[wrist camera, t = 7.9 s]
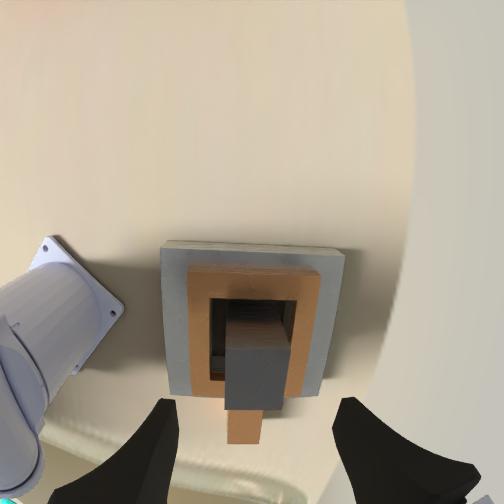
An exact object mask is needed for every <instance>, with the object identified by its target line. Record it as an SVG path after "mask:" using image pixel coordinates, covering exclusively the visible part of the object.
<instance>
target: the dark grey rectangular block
mask: <svg viewBox="0 0 504 504" xmlns="http://www.w3.org/2000/svg"><path fill="white" fill-rule="evenodd" d="M290 354H291V348H290V345H289V342H288V339H287V336H286V333H285V330H284V327H283V324H282V322H281V319H280V316H279V313H278V310H277V307H276V304H275V301H274V300H257V299H228V298H227V309H226V342H225V410H281V408H282V402H283V397H284V391H285V385H286V379H287V373H288V367H289V360H290Z"/></svg>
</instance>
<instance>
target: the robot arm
mask: <svg viewBox="0 0 504 504" xmlns="http://www.w3.org/2000/svg"><path fill="white" fill-rule="evenodd" d="M46 246H47V247H48V250H46ZM111 310H113V311H115V312H116V315H114V314H113V313H112V311H111ZM123 311H124V306H123V304H122V303H121V302H120V301H119V300H118V299H117V298H115V297H114V296H113V295H112V294H111V293H110V292H109V291H108V290H106V289H105V288H104V287H103V286H102V285H101V284H100V283H99V282H98V281H97V280H96V279H95V278H93V277H92V276H91V275H90V274H89V273H88V272H87V271H86V270H85V269H84V268H83V267H82V266H81V265H80V264H79V263H78V262H77V261H76V260H75V259H74V258H73V257H72V256H71V255H70V254H69V253H68V252H67V251H66V250H65V249H64V248H63V247H62V246H61V245H60V244H59V243H58V242H57V241H56V240H55V239H54V237H52V236H47V237H45V239H44V240H43V242H42V244H41V246H40V248H39V250H38V252H37V254H36V256H35V258H34V260H33V262H32V264H31V266H30V268H29V270H28V272H27V273H25V274H23V275H21V276H20V277H18V278H16V279H14V280H13V281H11V282H9V283H8V284H6V285H4V286H3V287H1V288H0V499H13V498H17V497H20V496H23V495H24V494H26V493H28V492H29V491H30V490H31V489H33V488H34V487H35V485H36V484H37V483H38V482H39V480H40V478H41V476H42V474H43V470H44V466H45V454H44V450H43V447H42V444H41V442H40V440H39V438H38V435H39V433H40V432H41V430H42V428H43V427H44V425H45V422H44V419H43V414H44V412H45V410H46V409H47V408H48V406H49V405H50V403H51V402H52V400H53V399H54V397H55V396H56V394H57V393H58V391H59V390H60V388H61V387H62V385H63V384H64V382H65V381H66V379H67V378H68V377H69V375H70V374H72V375H76V374H77V372H78V371H79V369H80V368H81V367H82V365H83V364H84V363H85V361H86V360H87V359H88V357H89V356H90V354H91V353H92V352H93V350H94V349H95V348H96V346H97V345H98V344H99V342H100V341H101V340H102V339H103V337H104V336H105V335H106V333H107V332H108V331H109V329H110V328H111V327H112V326H113V324H114V323H115V322H116V320H117V319H118V318H119V317H120V315H121V314H122V313H123ZM77 364H78V365H77ZM332 430H333V435H334V439H335V443H336V447H337V449H338V452H339V455H340V457H341V460H342V462H343V465H344V467H345V470H346V472H347V475H348V477H349V479H350V482H351V485H352V488H353V492H354V496H355V500H356V504H466V503H467V500H466V498H465V496H466V495H467V494H468V493H469V492H470V491H471V490H472V489H473V488H474V487H475V486H476V485H477V484H478V483H479V481H480V479H481V475H480V473H479V472H478V470H477V469H476V468H475V466H474V465H473V464H469V463H464V462H460V461H455V460H451V459H448V458H445V457H442V456H440V455H437V454H434V453H432V452H430V451H428V450H425V449H423V448H421V447H419V446H417V445H416V444H414V443H412V442H410V441H409V440H407V439H405V438H404V437H402V436H401V435H400V434H398V433H397V432H395V431H394V430H392V429H391V428H390V427H389V426H387V425H386V424H385V423H383V422H382V421H381V420H380V419H379V418H377V417H376V416H375V415H374V414H373V413H372V412H371V411H370V410H369V409H367V408H366V407H365V406H364V405H363V404H362V403H361V402H360V401H359V400H357V399H356V398H355V397H349V398H342V400H341V403H340V406H339V409H338V412H337V415H336V418H335V421H334V423H333V426H332ZM178 438H179V425H178V418H177V410H176V402H175V400H173V399H163V398H161V399H159V400H158V402H157V404H156V405H155V407H154V408H153V410H152V411H151V413H150V414H149V416H148V417H147V418H146V420H145V421H144V422H143V423H142V425H141V426H140V427H139V429H138V430H137V431H136V432H135V433H134V434H133V436H132V437H131V438H130V439H129V440H128V441H127V442H126V443H125V444H124V445H123V446H122V447H121V448H120V449H119V450H118V451H117V452H116V453H115V454H114V455H112V456H111V457H110V458H109V459H108V460H106V461H105V462H104V463H102V464H101V465H100V466H98V467H97V468H96V469H94V470H93V471H91V472H89V473H88V474H86V475H84V476H82V477H81V478H79V479H77V480H75V481H74V482H71V483H69V484H67V485H64V486H62V487H60V488H57V489H55V490H54V492H53V493H52V495H51V497H50V499H49V501H48V503H47V504H167V496H168V489H169V485H170V480H171V476H172V471H173V467H174V462H175V458H176V453H177V448H178ZM473 504H494V503H493V502H492V500H491V498H490V497H489V496H488V495H485V496H484V497H482V498H481V499H479V500H478V501H476V502H475V503H473Z"/></svg>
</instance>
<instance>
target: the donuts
mask: <svg viewBox="0 0 504 504" xmlns="http://www.w3.org/2000/svg"><path fill="white" fill-rule="evenodd" d="M1 504H15V503H14V502H12V501H10V500H9V499H1Z"/></svg>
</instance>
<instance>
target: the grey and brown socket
mask: <svg viewBox="0 0 504 504" xmlns="http://www.w3.org/2000/svg"><path fill="white" fill-rule="evenodd" d="M160 263H161V292H162V311H163V326H164V339H165V350H166V361H167V370H168V379H169V387H170V395H181V396H194V397H211V398H225V356H212V298H228V299H257V300H286V305H285V313H284V322H283V327H284V330H285V333H286V336H287V339H288V342H289V345H290V348H291V354H290V360H289V367H288V373H287V379H286V385H285V391H284V397H283V398H294V397H311V396H318V394H319V390H320V386H321V382H322V378H323V374H324V369H325V365H326V361H327V356H328V352H329V347H330V342H331V338H332V333H333V328H334V322H335V317H336V312H337V306H338V301H339V295H340V289H341V283H342V276H343V270H344V263H345V255H343V254H342V253H341V252H339V251H338V250H337V249H335V248H320V247H300V246H279V245H258V244H236V243H214V242H190V241H166V242H165V243H164V244H163V246H162V247H161V248H160ZM262 417H263V410H227V444H259V440H260V432H261V425H262Z"/></svg>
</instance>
